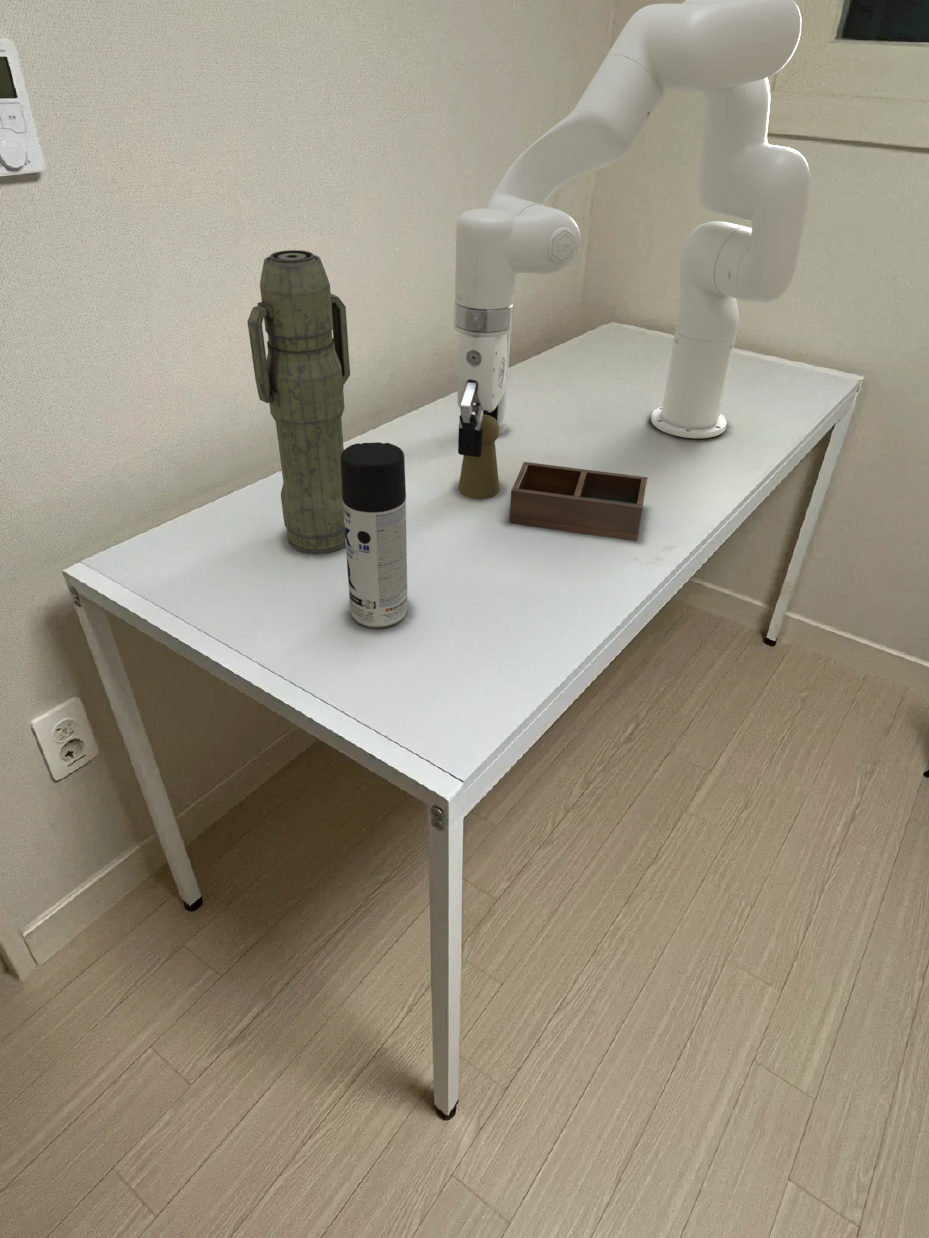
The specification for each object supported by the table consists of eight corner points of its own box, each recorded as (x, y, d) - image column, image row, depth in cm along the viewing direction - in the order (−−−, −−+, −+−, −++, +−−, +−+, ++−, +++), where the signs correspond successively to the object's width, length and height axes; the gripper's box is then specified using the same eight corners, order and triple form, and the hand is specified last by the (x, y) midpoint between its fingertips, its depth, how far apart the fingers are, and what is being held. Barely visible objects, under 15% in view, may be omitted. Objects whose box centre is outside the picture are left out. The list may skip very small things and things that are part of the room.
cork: (504, 483, 123) (508, 413, 116) (492, 501, 118) (495, 429, 111) (466, 476, 124) (467, 406, 118) (452, 494, 120) (453, 422, 113)
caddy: (521, 493, 120) (523, 461, 117) (642, 509, 117) (647, 477, 114) (509, 523, 113) (511, 490, 110) (637, 541, 110) (642, 507, 107)
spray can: (351, 596, 98) (339, 440, 86) (408, 594, 99) (404, 439, 87) (349, 630, 93) (336, 468, 81) (410, 628, 94) (405, 467, 82)
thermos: (376, 531, 111) (361, 253, 90) (307, 566, 103) (273, 272, 83) (332, 509, 115) (308, 240, 94) (264, 541, 108) (221, 257, 87)
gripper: (497, 339, 99) (490, 470, 109) (524, 302, 112) (516, 421, 122) (437, 333, 100) (435, 463, 110) (471, 297, 114) (467, 415, 124)
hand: (478, 441), depth 116 cm, fingers open, 9 cm apart
